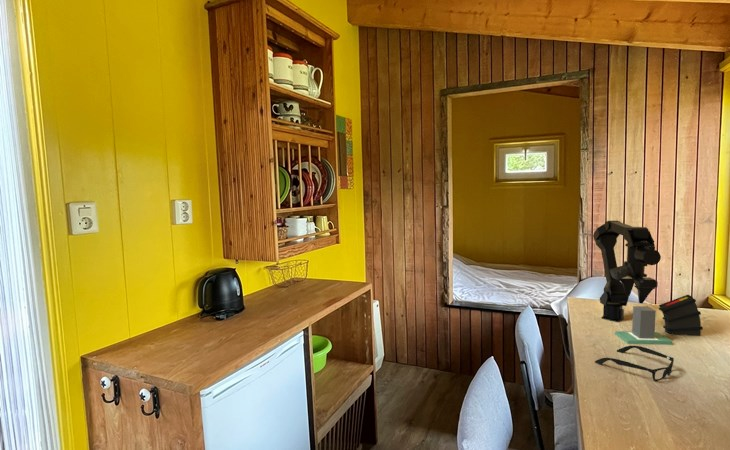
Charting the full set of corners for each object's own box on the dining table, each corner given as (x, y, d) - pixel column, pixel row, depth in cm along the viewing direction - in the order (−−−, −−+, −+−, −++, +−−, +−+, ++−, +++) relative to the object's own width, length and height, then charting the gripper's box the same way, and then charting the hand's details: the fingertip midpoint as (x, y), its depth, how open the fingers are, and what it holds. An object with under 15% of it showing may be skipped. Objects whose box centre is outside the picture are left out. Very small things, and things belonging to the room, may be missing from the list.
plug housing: (639, 338, 146) (640, 310, 144) (632, 333, 150) (633, 306, 149) (654, 338, 145) (655, 310, 144) (646, 333, 150) (647, 306, 149)
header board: (615, 334, 153) (615, 322, 153) (657, 335, 151) (657, 322, 151) (627, 343, 144) (628, 330, 144) (672, 344, 143) (673, 331, 142)
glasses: (655, 389, 115) (656, 373, 115) (592, 364, 130) (594, 349, 129) (679, 373, 124) (680, 358, 124) (618, 351, 139) (619, 338, 138)
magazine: (711, 332, 148) (694, 296, 148) (674, 345, 151) (657, 310, 151) (705, 328, 152) (688, 293, 152) (669, 341, 155) (652, 307, 155)
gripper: (601, 255, 162) (600, 292, 164) (626, 264, 143) (624, 307, 145) (631, 255, 161) (629, 293, 162) (659, 264, 142) (657, 307, 144)
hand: (634, 299), depth 153 cm, fingers open, 9 cm apart
